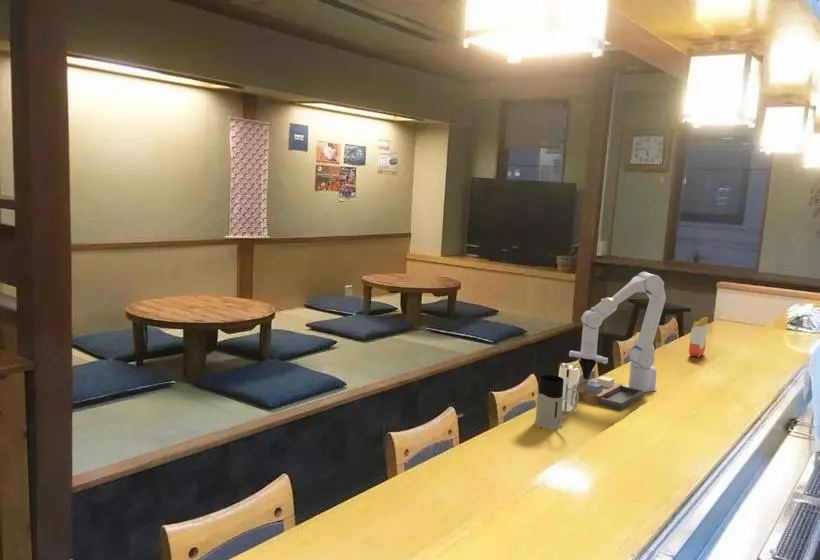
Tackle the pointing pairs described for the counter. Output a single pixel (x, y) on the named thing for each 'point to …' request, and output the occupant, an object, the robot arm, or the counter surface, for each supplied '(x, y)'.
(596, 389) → the blue-gray block
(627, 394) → the tray
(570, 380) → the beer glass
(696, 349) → the french fries container
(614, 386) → the walnut board
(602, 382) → the white tile
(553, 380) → the grey black mug
